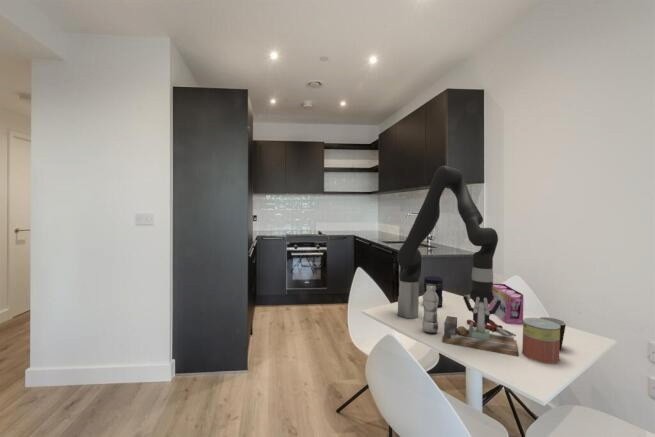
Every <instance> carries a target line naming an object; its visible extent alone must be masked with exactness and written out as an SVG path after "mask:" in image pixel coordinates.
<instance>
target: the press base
mask: <svg viewBox="0 0 655 437" xmlns="http://www.w3.org/2000/svg"><path fill="white" fill-rule="evenodd" d="M443 322H444V323H443V325H444V327H443V328H444V330H443V335H442V338H441V343H442V344H443V343H445V344H450V345H454V346H460V347H466V348H472V349H477V350H481V351H487V352H493V353H498V354H504V355H510V356H515V357H519V348H518V342H517V340H516V339H515V338H514V337H515V336H511V335H510V336H511V337H510V336H506V335H503V334H499V333H498V334H497V333H491V332H489V341H488V340H482V339H476V338H470V337H469V329H467V328H466V327H465V326H463V325H460V326H458V317H457V316H450V315H446V318H445V320H444V321H443Z"/></svg>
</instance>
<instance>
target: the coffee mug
mask: <svg viewBox="0 0 655 437" xmlns="http://www.w3.org/2000/svg"><path fill="white" fill-rule="evenodd" d="M539 319H545V320H549V321H552V322H555V323H557V324H559V325H560V326H561V328H560V349H559V351H561V350H562V346H563V342H564V336H565V331H566V324H567V323H566V321H564V320H563V319H559V318H555V317H548V316H547V317H546V316H542V317H541V316H540V317H539Z"/></svg>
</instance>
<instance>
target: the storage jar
mask: <svg viewBox="0 0 655 437" xmlns="http://www.w3.org/2000/svg"><path fill="white" fill-rule="evenodd" d="M423 279H424V281H423V288H424V291H423V292H424V293H425V292H426V291H427V289H426V288H427V285H428V284H432V285H435V286H436V290H435V292H436V293H437V295H438V298H439V301H438V307H437V309H442V308H443V289H444V281H443V280H444V279H443V278H442V277H440V276H429V275H428V276H424V277H423ZM424 293H423V294H424Z"/></svg>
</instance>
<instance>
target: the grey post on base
mask: <svg viewBox="0 0 655 437" xmlns="http://www.w3.org/2000/svg"><path fill="white" fill-rule="evenodd" d="M485 314H486V310H485V304H484V303H483V302H479V304H478V308H477V327H473V322H470V325H469V328H468V330H469V337H470V338H476V339H482V340H488V341H489V333H490V330H488V329H485Z"/></svg>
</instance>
